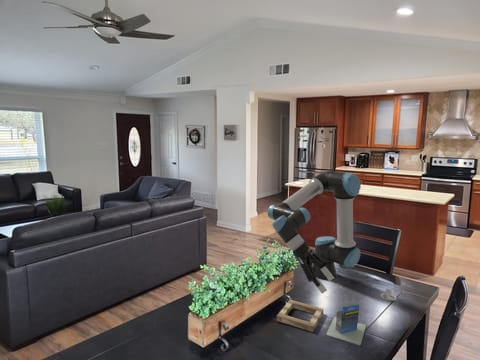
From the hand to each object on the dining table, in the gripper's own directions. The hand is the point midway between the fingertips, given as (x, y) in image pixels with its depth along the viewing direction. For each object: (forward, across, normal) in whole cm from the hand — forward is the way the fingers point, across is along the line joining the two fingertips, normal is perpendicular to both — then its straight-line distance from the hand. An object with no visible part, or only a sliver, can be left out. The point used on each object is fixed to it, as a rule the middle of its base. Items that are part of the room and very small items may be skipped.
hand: (328, 285), depth 149 cm
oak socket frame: (+5, 0, -21) cm, 22 cm away
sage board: (+20, 0, -6) cm, 21 cm away
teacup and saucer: (+28, -40, +1) cm, 49 cm away
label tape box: (+20, +1, -6) cm, 20 cm away
